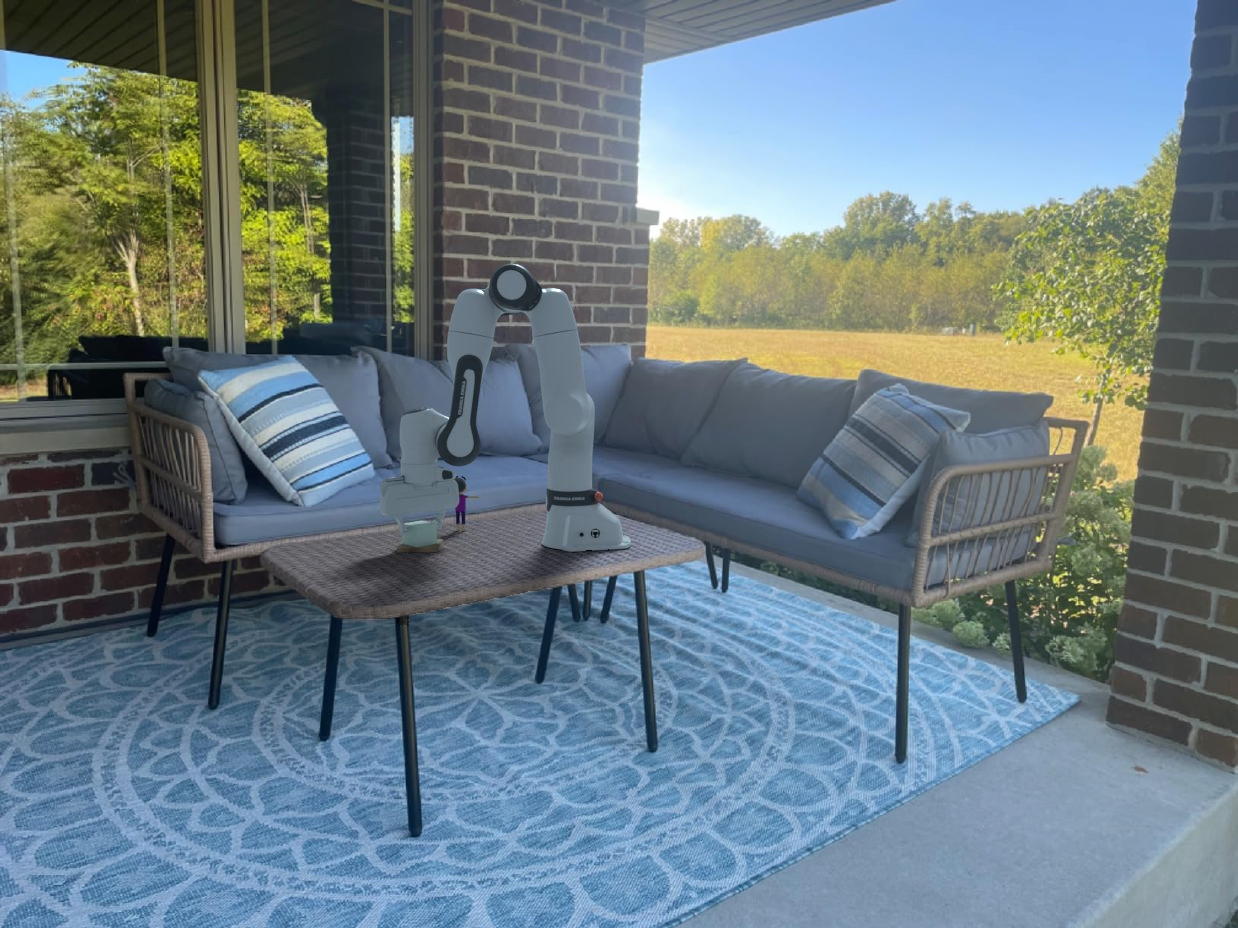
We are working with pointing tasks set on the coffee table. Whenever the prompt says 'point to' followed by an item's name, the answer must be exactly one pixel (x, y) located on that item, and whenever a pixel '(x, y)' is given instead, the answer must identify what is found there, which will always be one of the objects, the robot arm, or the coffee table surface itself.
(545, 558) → the coffee table surface
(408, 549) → the stand
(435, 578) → the coffee table surface
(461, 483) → the toy
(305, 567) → the coffee table surface
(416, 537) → the pale aqua cube
